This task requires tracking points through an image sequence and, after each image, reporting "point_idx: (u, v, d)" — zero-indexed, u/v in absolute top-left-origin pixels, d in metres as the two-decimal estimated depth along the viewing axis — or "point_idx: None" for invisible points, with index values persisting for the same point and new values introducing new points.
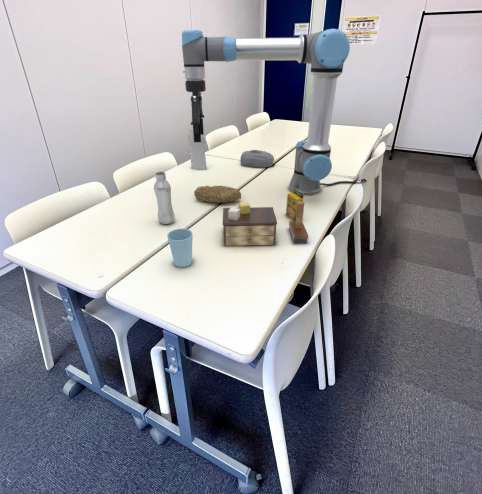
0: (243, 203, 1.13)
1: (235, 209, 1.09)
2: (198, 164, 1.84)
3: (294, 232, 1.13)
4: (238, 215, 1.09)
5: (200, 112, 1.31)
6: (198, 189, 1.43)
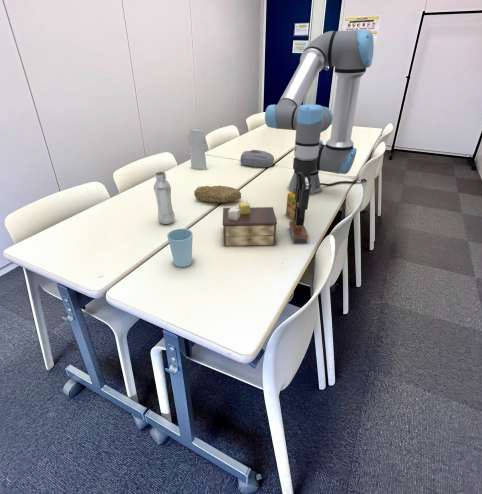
0: (243, 203, 1.13)
1: (235, 209, 1.09)
2: (198, 164, 1.84)
3: (294, 232, 1.13)
4: (238, 215, 1.09)
5: None
6: (198, 189, 1.43)
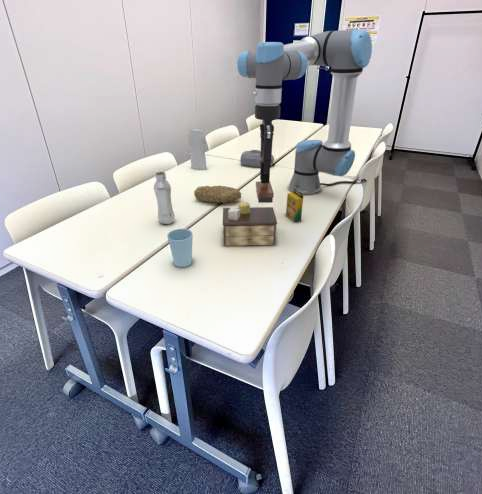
0: (243, 203, 1.13)
1: (235, 209, 1.09)
2: (198, 164, 1.84)
3: (259, 190, 1.05)
4: (238, 215, 1.09)
5: None
6: (198, 189, 1.43)
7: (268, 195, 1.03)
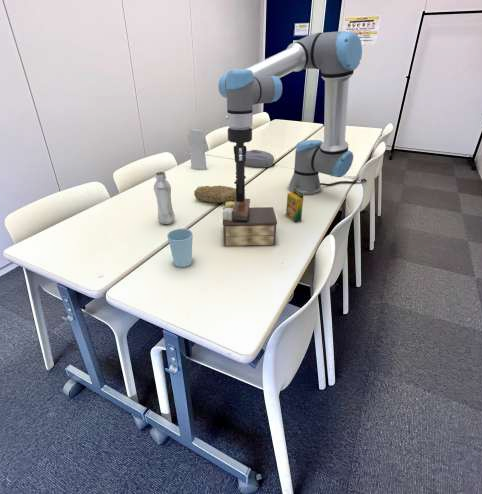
0: (229, 202, 1.14)
1: (229, 209, 1.09)
2: (198, 164, 1.84)
3: (234, 208, 1.08)
4: (232, 215, 1.09)
5: None
6: (198, 189, 1.43)
7: (242, 213, 1.06)
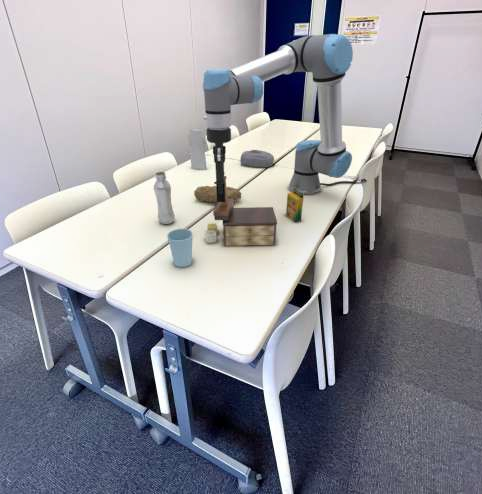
0: None
1: None
2: (198, 164, 1.84)
3: (216, 208, 1.08)
4: (206, 237, 1.13)
5: None
6: (198, 189, 1.43)
7: (223, 213, 1.06)
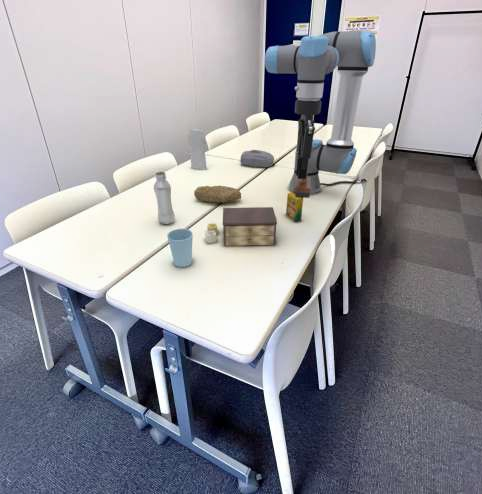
0: None
1: None
2: (198, 164, 1.84)
3: (296, 185, 1.05)
4: (206, 237, 1.13)
5: None
6: (198, 189, 1.43)
7: (305, 190, 1.03)
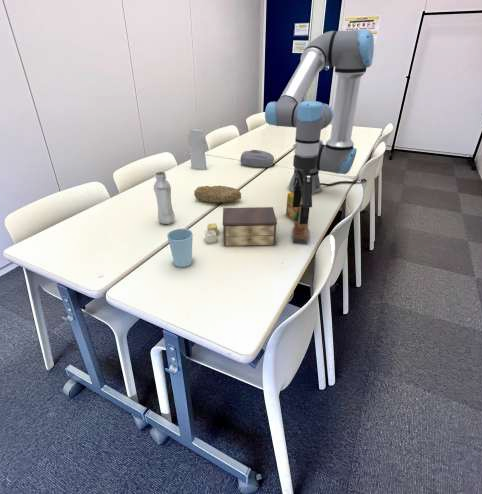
0: None
1: None
2: (198, 164, 1.84)
3: (295, 231, 1.14)
4: (206, 237, 1.13)
5: None
6: (198, 189, 1.43)
7: (303, 237, 1.12)
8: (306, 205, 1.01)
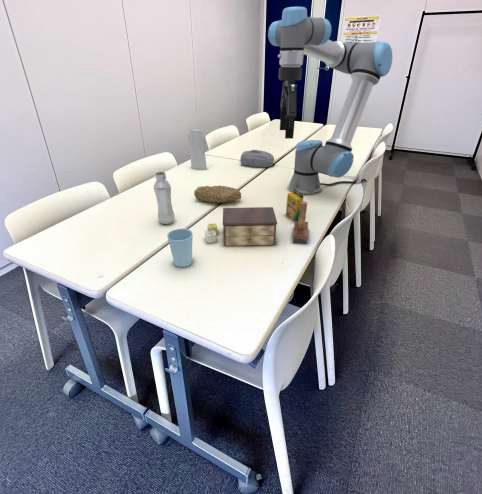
0: None
1: None
2: (198, 164, 1.84)
3: (295, 231, 1.14)
4: (206, 237, 1.13)
5: None
6: (198, 189, 1.43)
7: (303, 237, 1.12)
8: (291, 114, 1.02)
